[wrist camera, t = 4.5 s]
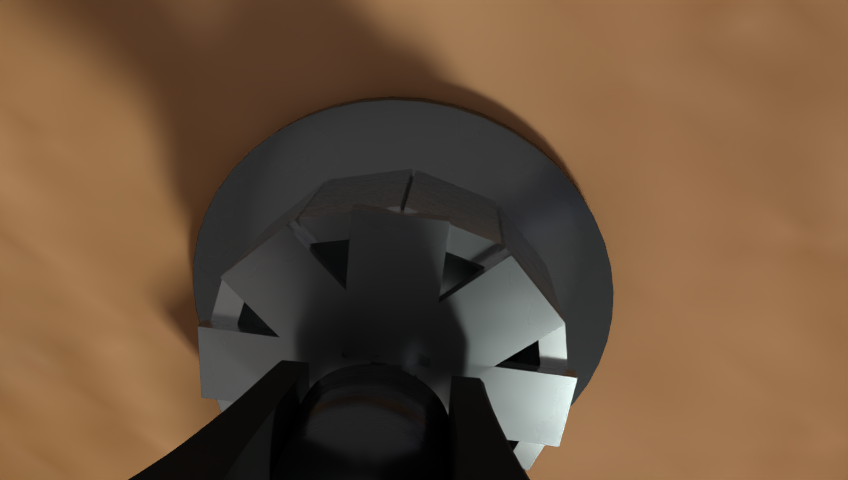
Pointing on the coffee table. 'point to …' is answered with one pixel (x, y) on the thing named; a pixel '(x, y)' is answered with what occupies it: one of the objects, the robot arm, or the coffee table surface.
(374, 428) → the plunger
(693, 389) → the coffee table surface
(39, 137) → the coffee table surface
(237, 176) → the grey fan
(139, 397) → the coffee table surface
